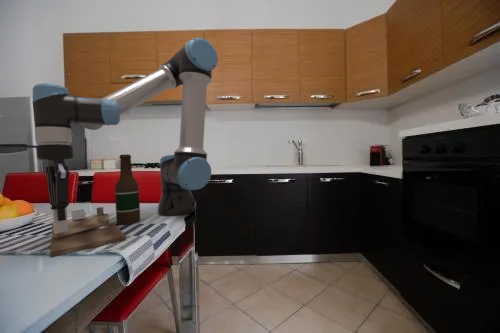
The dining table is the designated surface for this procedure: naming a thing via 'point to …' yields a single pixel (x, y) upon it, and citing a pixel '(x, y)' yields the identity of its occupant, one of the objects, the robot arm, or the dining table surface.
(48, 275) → the dining table surface
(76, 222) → the link
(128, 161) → the beer bottle
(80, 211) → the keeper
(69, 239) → the base plate
